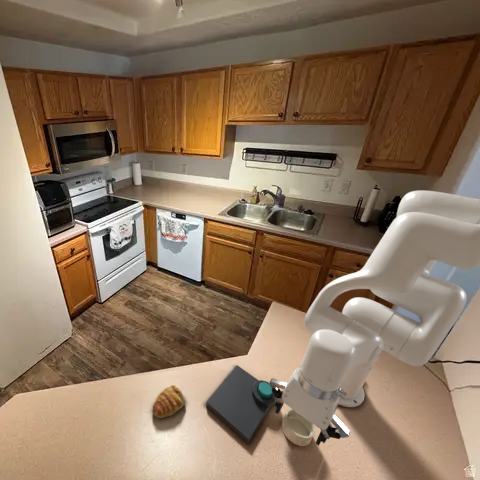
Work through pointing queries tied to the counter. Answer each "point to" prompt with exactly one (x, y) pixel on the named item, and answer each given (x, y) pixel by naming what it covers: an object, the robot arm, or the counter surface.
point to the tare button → (264, 390)
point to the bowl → (297, 428)
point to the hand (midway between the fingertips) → (297, 424)
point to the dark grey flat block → (240, 402)
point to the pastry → (168, 402)
